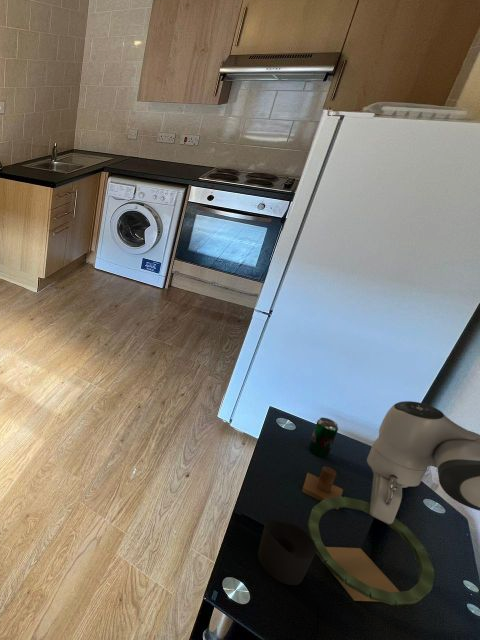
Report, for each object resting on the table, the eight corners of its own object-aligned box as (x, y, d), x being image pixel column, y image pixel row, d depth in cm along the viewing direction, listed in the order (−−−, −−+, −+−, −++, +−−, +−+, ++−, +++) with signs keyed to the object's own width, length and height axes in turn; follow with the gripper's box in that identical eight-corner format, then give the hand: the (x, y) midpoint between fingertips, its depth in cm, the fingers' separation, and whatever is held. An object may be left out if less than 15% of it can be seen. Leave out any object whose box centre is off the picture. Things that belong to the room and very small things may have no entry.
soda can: (309, 444, 134) (319, 414, 131) (328, 452, 131) (339, 422, 127) (306, 452, 131) (317, 421, 127) (327, 461, 127) (338, 430, 124)
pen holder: (292, 596, 90) (305, 564, 87) (247, 559, 97) (257, 528, 94) (311, 574, 94) (324, 543, 91) (267, 540, 102) (276, 510, 99)
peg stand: (341, 493, 116) (349, 471, 114) (338, 510, 111) (347, 487, 108) (306, 476, 122) (313, 455, 119) (301, 491, 116) (309, 469, 114)
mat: (359, 549, 100) (360, 548, 100) (409, 603, 89) (409, 602, 89) (311, 547, 101) (311, 546, 100) (353, 600, 89) (354, 599, 89)
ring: (436, 539, 92) (439, 536, 91) (423, 631, 82) (427, 629, 81) (319, 483, 106) (321, 479, 105) (297, 556, 96) (299, 553, 95)
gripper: (415, 500, 84) (392, 548, 88) (414, 450, 98) (394, 494, 102) (373, 482, 89) (353, 528, 93) (378, 436, 102) (360, 479, 106)
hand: (375, 510), depth 97 cm, fingers closed on ring, 2 cm apart
